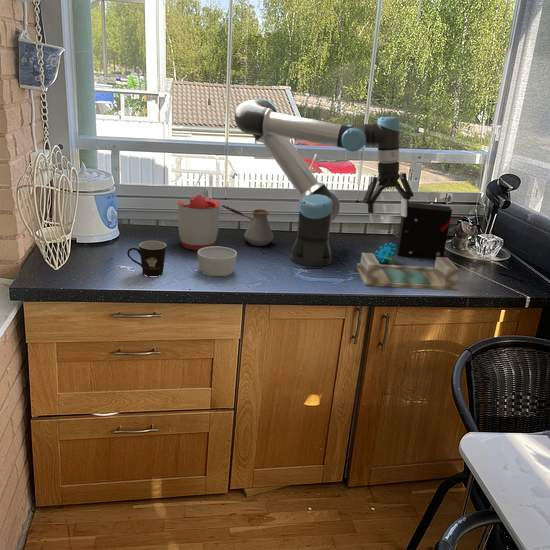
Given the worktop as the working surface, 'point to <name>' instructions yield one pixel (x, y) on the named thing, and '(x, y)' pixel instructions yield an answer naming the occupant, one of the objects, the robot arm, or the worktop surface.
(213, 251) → the ramekin
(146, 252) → the coffee mug
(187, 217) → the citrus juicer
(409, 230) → the electrical component
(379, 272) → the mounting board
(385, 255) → the gear
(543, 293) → the worktop surface
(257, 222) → the coffee pot
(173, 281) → the worktop surface
